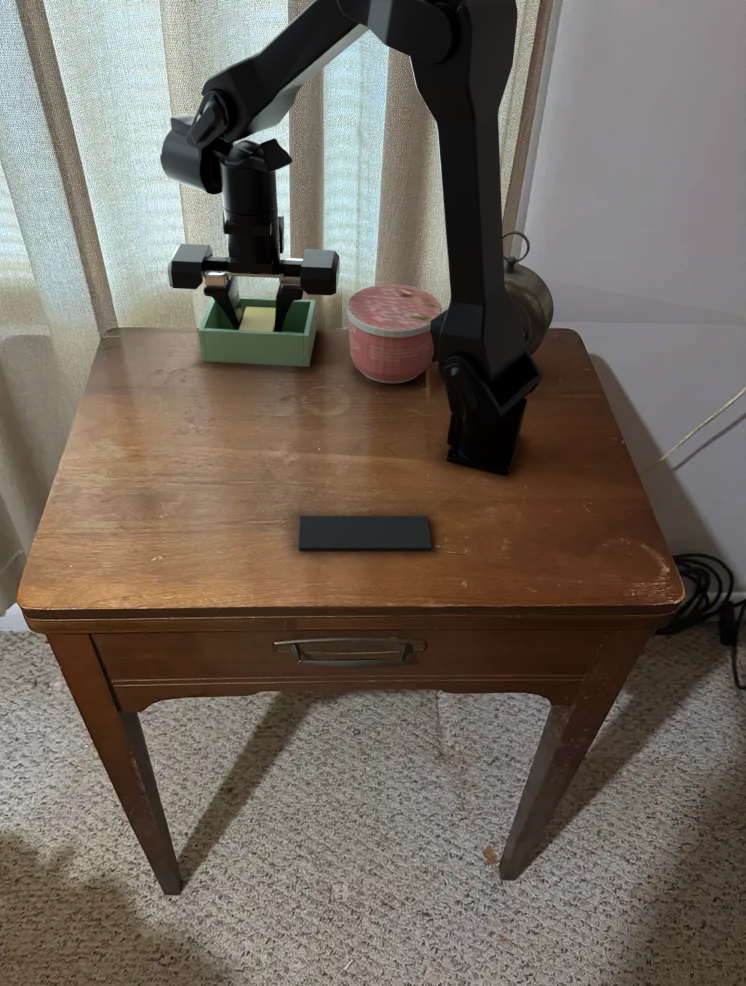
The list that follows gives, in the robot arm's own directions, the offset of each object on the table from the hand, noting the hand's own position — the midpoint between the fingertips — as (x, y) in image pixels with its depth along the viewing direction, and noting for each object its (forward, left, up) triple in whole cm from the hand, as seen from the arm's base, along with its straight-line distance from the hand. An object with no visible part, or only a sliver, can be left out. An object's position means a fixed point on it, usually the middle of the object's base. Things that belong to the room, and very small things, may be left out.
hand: (260, 336), depth 91 cm
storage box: (0, 0, -2) cm, 2 cm away
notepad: (0, 0, 0) cm, 0 cm away
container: (-16, -2, -2) cm, 16 cm away
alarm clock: (-27, -7, -2) cm, 28 cm away
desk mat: (-23, +25, -2) cm, 34 cm away
